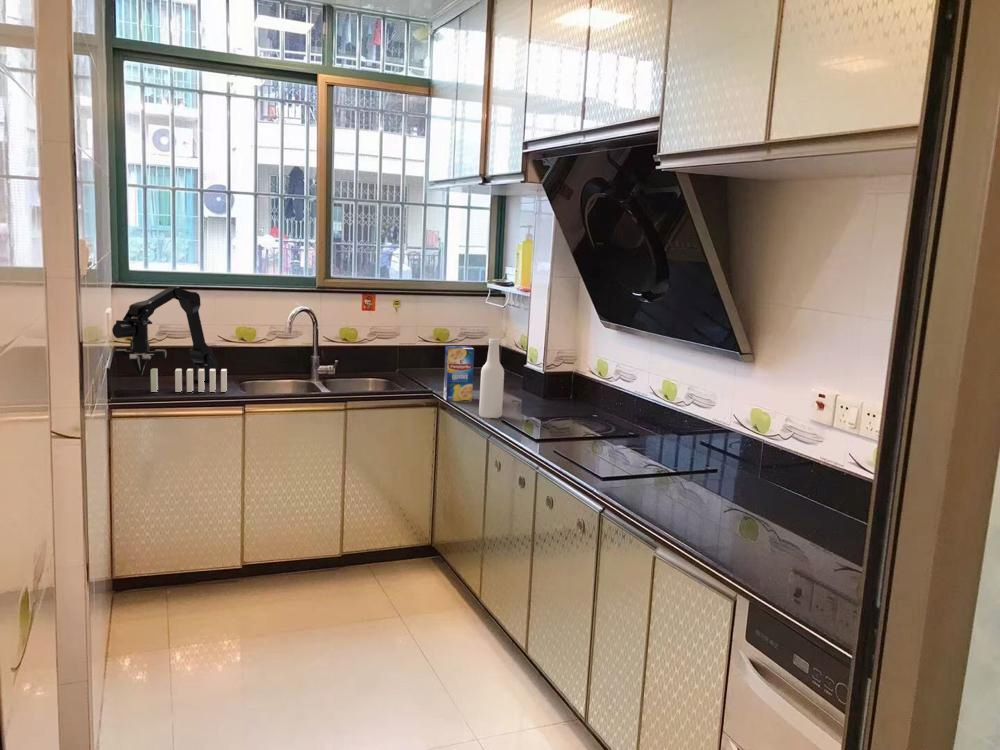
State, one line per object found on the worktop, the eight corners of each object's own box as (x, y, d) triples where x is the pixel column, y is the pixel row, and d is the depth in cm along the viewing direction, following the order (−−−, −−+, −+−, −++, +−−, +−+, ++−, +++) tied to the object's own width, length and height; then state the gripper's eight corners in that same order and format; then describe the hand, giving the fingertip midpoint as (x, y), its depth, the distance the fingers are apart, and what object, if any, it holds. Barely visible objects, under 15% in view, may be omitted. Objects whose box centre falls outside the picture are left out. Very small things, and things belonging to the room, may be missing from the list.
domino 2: (175, 392, 323) (175, 370, 322) (176, 390, 328) (176, 368, 326) (180, 392, 324) (180, 370, 322) (182, 390, 329) (181, 368, 327)
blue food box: (472, 401, 339) (474, 349, 335) (446, 401, 336) (448, 348, 332) (468, 397, 345) (471, 346, 341) (443, 397, 342) (445, 346, 339)
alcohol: (480, 418, 307) (484, 339, 302) (477, 413, 315) (481, 336, 310) (503, 419, 308) (507, 340, 303) (499, 414, 317) (504, 337, 312)
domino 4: (198, 392, 326) (198, 370, 324) (199, 390, 330) (199, 368, 329) (203, 392, 326) (203, 370, 325) (204, 390, 331) (204, 368, 329)
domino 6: (221, 392, 328) (220, 370, 327) (221, 390, 333) (221, 368, 331) (226, 392, 329) (226, 371, 327) (226, 390, 333) (226, 368, 332)
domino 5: (209, 392, 327) (209, 370, 325) (210, 390, 332) (210, 368, 330) (214, 392, 327) (214, 370, 326) (215, 390, 332) (215, 368, 331)
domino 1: (150, 392, 321) (150, 370, 319) (152, 390, 326) (152, 368, 324) (156, 392, 321) (156, 370, 320) (157, 390, 326) (157, 368, 325)
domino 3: (186, 392, 324) (186, 370, 323) (188, 390, 329) (187, 368, 328) (192, 392, 325) (192, 370, 323) (193, 390, 330) (193, 368, 328)
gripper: (167, 333, 329) (168, 371, 331) (117, 333, 323) (118, 371, 326) (164, 337, 318) (165, 376, 321) (112, 336, 313) (113, 376, 315)
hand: (140, 375), depth 321 cm, fingers closed
